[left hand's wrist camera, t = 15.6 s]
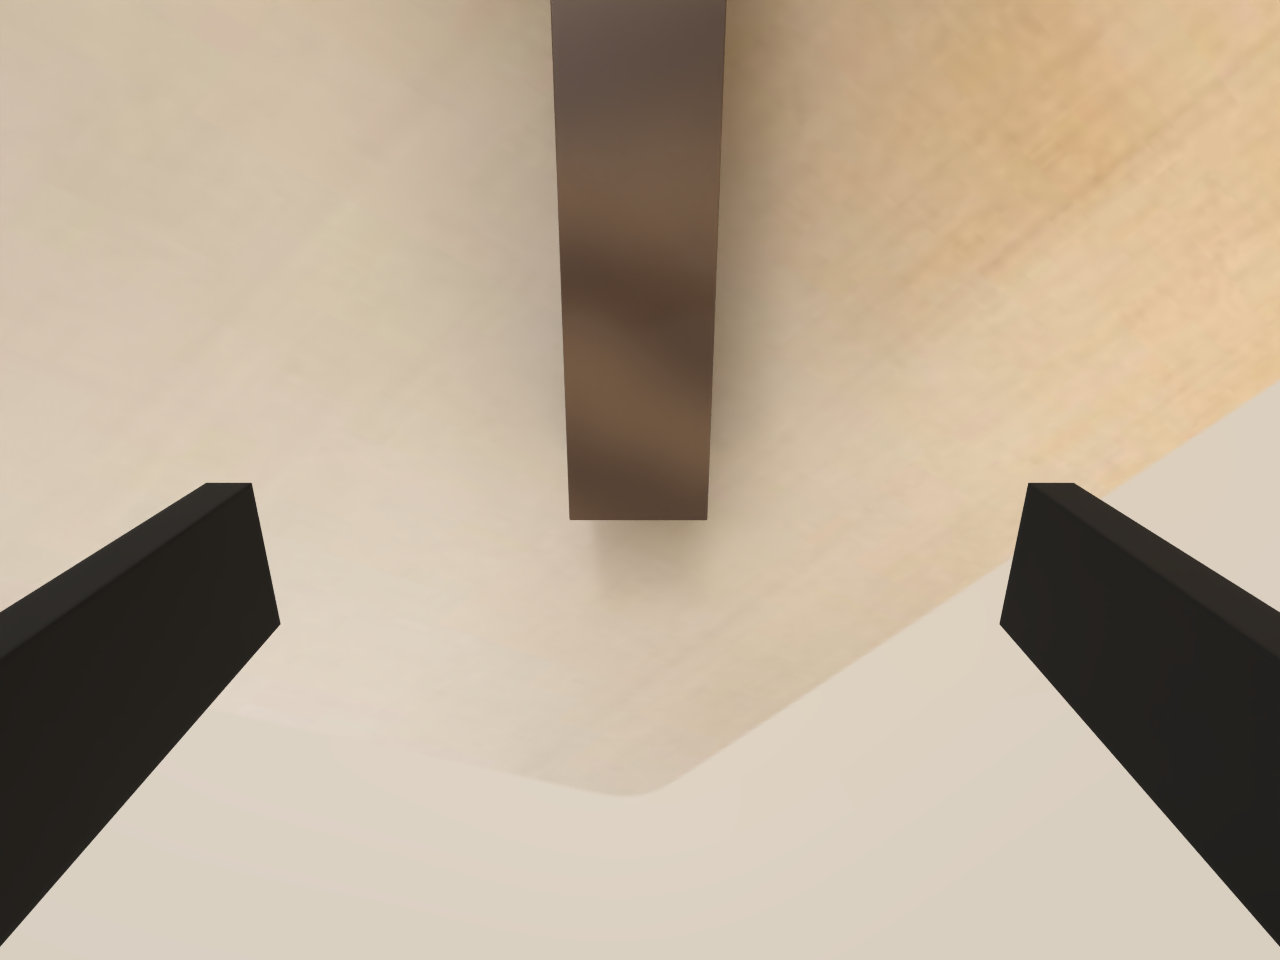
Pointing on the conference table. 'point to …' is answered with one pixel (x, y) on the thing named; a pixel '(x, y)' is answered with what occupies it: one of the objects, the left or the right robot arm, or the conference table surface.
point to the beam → (638, 249)
